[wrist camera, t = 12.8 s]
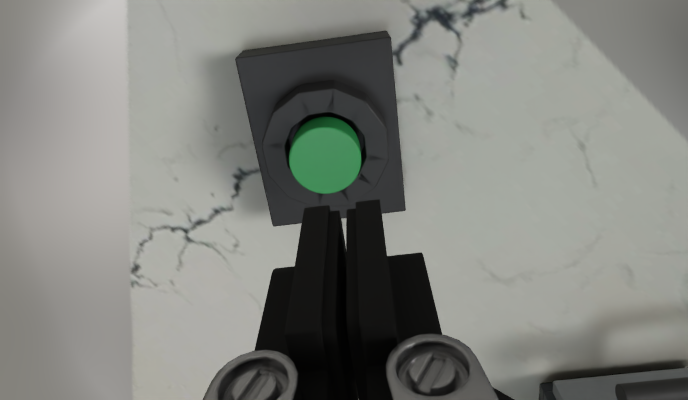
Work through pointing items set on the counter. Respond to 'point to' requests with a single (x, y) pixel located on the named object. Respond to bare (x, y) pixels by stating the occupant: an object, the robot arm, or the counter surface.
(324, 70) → the control block
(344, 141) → the button
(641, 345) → the counter surface
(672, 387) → the drawer
